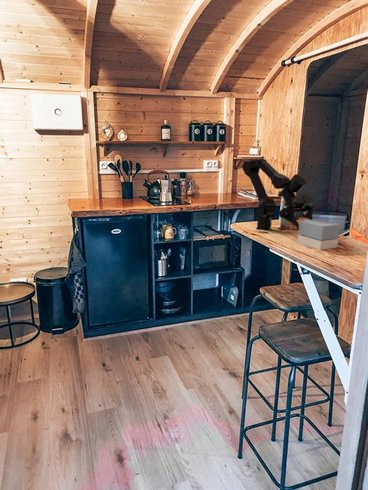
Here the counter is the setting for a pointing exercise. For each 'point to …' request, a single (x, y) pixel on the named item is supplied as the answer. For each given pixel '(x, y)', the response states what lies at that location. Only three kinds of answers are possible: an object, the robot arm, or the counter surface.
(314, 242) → the carton base
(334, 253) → the counter surface
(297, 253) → the counter surface
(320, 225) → the grey boxy piece
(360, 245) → the counter surface
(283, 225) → the snack box
